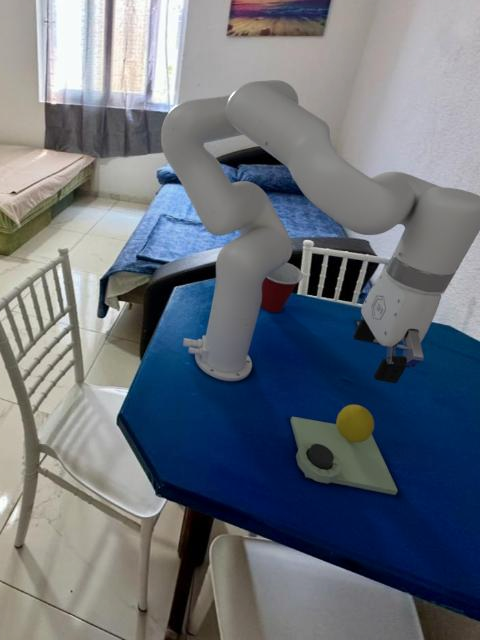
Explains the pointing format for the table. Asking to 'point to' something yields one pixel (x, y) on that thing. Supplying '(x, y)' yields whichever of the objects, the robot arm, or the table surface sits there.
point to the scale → (342, 457)
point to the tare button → (320, 456)
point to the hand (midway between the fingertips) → (372, 358)
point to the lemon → (355, 423)
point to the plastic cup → (279, 287)
